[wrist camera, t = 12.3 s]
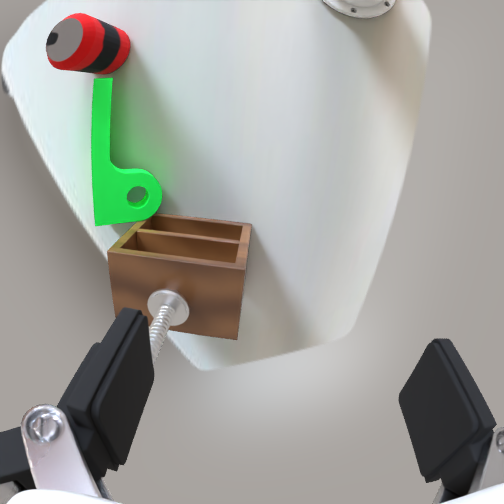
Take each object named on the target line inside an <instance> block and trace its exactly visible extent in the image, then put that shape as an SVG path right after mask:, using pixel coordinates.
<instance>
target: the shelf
mask: <svg viewBox="0 0 504 504" xmlns="http://www.w3.org/2000/svg"><path fill="white" fill-rule="evenodd" d="M251 226H252V224H248V223H240V222H231V221H223V220H214V219H206V218H197V217H188V216H178V215H169V214H159V213H154V214H153V215H152V216H151V217H149V218H147V219H145V220H142V221H138V222H136V223H135V224H134V225H133V226H132V227H131V228H130V229H129V230H128V231H127V232H126V233H125V234H124V235H123V236H122V237H121V238H120V239H119V240H118V241H117V242H116V243H115V244H114V245H113V246H112V247H111V248H110V249H109V250H108V251H107V255H108V265H109V274H110V282H111V289H112V297H113V304H114V310H115V317H117V316H118V314H119V313H120V311H121V310H122V308H124V307H127V308H132V309H137V310H141V311H142V313H143V315H144V316H147V318H148V326H149V327H150V325H151V323H152V321H153V319H154V317H153V316H152V315H151V314H150V312H149V310H148V305H147V304H148V299H149V297H150V295H151V294H152V293H153V292H154V291H156V290H158V289H171V290H177V291H178V292H179V293H180V294H181V295H182V296H183V297H184V298H185V299H186V301H187V302H188V304H189V308H190V313H189V316H188V318H187V320H186V321H185V322H184V323H182V324H180V325H176V326H170V327H169V329H168V330H172V331H178V332H184V333H190V334H197V335H204V336H210V337H218V338H225V339H233V340H237V337H238V329H239V322H240V314H241V307H242V299H243V291H244V284H245V275H246V267H247V259H248V251H249V242H250V234H251Z"/></svg>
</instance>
